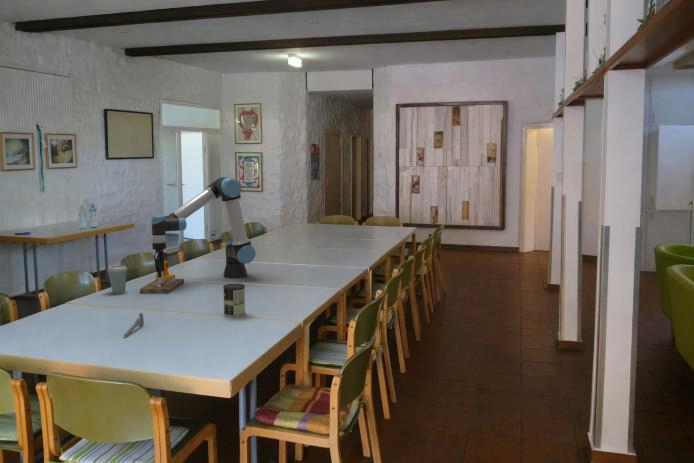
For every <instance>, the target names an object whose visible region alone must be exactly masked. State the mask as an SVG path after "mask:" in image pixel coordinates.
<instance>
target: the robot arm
mask: <svg viewBox="0 0 694 463" xmlns="http://www.w3.org/2000/svg"><path fill="white" fill-rule="evenodd" d="M241 193H242V184H241V183H240V181H239V179H237V178H234V177H227V176H226V177H223V176H222V177H219V178H217V179H215V180H214V181H213V182H211V183H210V184H208V185H207V186H206V187H205V189H204V190H202V191H201V192H200V193H198V194H197V195H196V196H194V197H193V198H191V199H190V200H188V201H187V202H185V204H183V205H181V206H180V207H179V208H177V209H176V210H174V211H172V213H170V214H168V215H161V214H157V215H156V214H155V215H152V217H151V237H150V238H151V240H152V241H151V242H152V245H151V246H152V248H151V249H152V250H155V252H154V255H153V259H154V265H155V272H156V273H157V272H158V283H163V271H165V270H163V269H164V263H165V261H166V252H165V251H164V250H166V249H167V243H166V241H167V236H166V234H167V233H166V232H177V231H178V232H181V231H185V230H186V229H187V227H188V226H187V220H186V219H187V218H189V217H190V216H192V215H193V214H194V213H196V212H198V211H199V210H200V209H201V208H203V207H204V206H206V205H207V204H209V203H210V202H211V201H216V200H217V199H218V198H220V199H221V202H223V203H224V204H225V208H226V213H227V218H228V222H229V226H230V232H231V236H232V239H233V240H229V241H226V242H225V246H224V247H225V267H224V270H223V278H226V279H240V278H245V277H247V276H248V271H247V268H246V265H245V264H250V263H252V262H253V261H254V260H255V258H256V254H257V253H256V250H255V248H254V247H253V246H252V241H251V239H249V238H248V235H247V230H246V225H245V222H244V217H243V211H242V208H241V204H240V200H241V198H242V196H241Z"/></svg>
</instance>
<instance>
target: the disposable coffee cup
mask: <svg viewBox="0 0 694 463" xmlns="http://www.w3.org/2000/svg"><path fill="white" fill-rule="evenodd" d="M107 272H108V273H107V274H108V277H109V281H110V282H109V283H110V285H111V290H112V293H113V294H115V295H116V294H117V295H118V294H124V293H126V287H127V275H128V268H127V266H125V265H121V264H120V265H119V264H118V265H116V264H115V265H111V266H108V268H107Z"/></svg>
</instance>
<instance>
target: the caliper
mask: <svg viewBox="0 0 694 463" xmlns="http://www.w3.org/2000/svg"><path fill="white" fill-rule="evenodd" d="M144 322H145V320H144V314H143V312H140V313H139V314H138V317H137V318H136V320H135V321H134V323H133V324H132V325H131V326H130V327H129V329H128V330H127V331H126V332H125V333H124V335H123V338H122V339H126V338H128V337H129V336H130V335H131V333H132V332H134V330H135V329H136V328H137V327H143V326H145V323H144Z"/></svg>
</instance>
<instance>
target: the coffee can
mask: <svg viewBox="0 0 694 463" xmlns="http://www.w3.org/2000/svg"><path fill="white" fill-rule="evenodd" d="M245 287H246V285H245V284H243V283H228V284H225V285H223V286H222V288H223V315H224V317H228V318H237V317H238V318H239V317H242V316H245V315H246V303H245V302H246V301H245V300H246V298H245V297H246V294H245V293H246V292H245V291H246V290H245V289H246V288H245Z"/></svg>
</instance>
